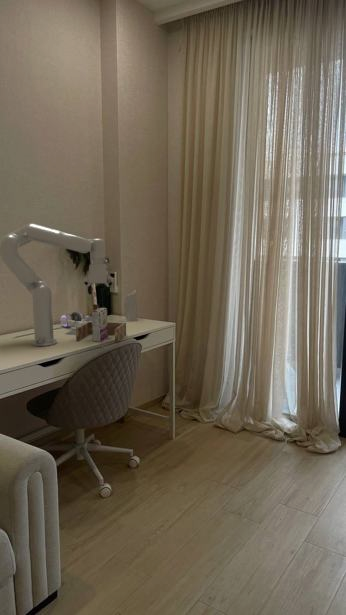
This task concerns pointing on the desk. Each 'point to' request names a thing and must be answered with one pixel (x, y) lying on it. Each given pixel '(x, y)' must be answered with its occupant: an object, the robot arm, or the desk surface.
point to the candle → (130, 307)
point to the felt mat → (72, 332)
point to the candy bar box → (99, 324)
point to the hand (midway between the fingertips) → (99, 294)
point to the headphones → (74, 319)
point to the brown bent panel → (113, 329)
